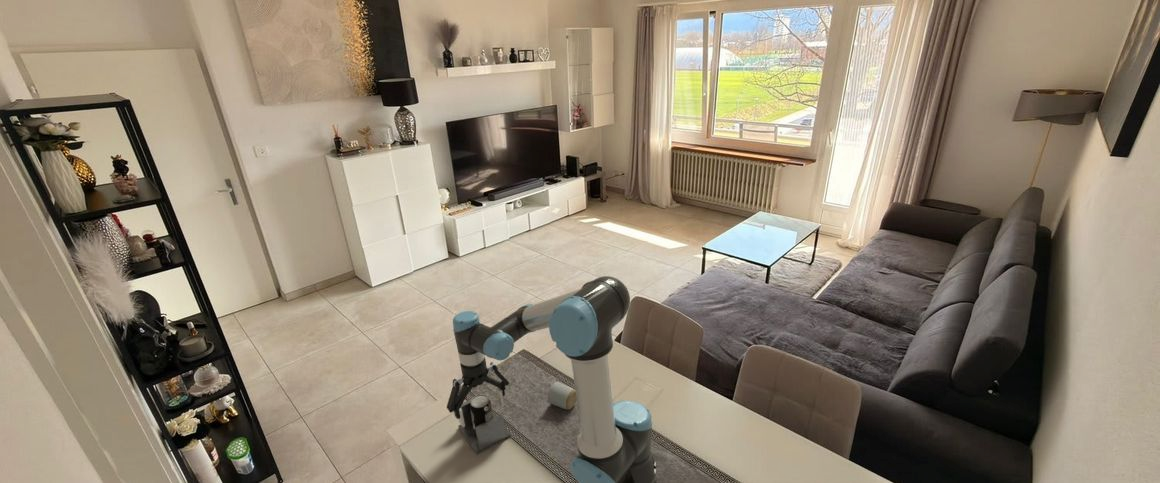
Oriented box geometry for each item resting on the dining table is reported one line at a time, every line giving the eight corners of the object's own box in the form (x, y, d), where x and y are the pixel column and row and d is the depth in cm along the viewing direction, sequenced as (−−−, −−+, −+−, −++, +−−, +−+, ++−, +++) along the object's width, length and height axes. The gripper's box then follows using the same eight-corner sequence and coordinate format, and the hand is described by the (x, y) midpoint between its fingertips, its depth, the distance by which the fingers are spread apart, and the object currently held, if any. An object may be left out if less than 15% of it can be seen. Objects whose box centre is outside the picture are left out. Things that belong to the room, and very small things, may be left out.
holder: (510, 436, 154) (508, 414, 150) (476, 454, 147) (472, 432, 144) (491, 411, 164) (488, 390, 160) (458, 428, 158) (454, 406, 154)
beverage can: (472, 426, 157) (467, 397, 152) (491, 419, 159) (487, 390, 154) (476, 440, 151) (471, 410, 147) (497, 432, 154) (492, 403, 149)
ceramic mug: (568, 415, 161) (567, 397, 158) (547, 407, 165) (546, 389, 162) (583, 396, 169) (582, 378, 166) (563, 389, 173) (562, 371, 170)
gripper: (503, 338, 153) (511, 391, 162) (428, 370, 140) (440, 426, 149) (514, 349, 148) (522, 403, 156) (437, 383, 135) (449, 440, 143)
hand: (482, 414), depth 152 cm, fingers open, 13 cm apart
